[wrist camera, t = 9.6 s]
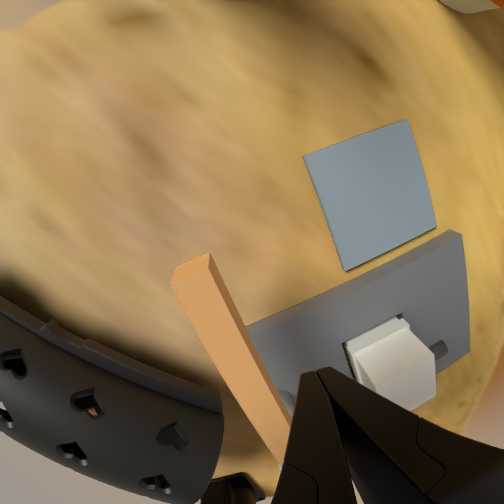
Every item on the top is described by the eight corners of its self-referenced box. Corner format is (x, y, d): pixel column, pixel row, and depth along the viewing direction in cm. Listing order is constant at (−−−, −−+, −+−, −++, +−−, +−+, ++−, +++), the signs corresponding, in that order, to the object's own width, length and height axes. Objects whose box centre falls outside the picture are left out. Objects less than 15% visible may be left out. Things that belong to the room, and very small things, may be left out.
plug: (416, 340, 24) (458, 383, 18) (351, 374, 24) (382, 428, 18) (409, 296, 23) (458, 336, 16) (337, 333, 23) (372, 386, 17)
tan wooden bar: (219, 247, 13) (219, 263, 11) (317, 451, 17) (325, 474, 15) (167, 270, 13) (159, 288, 11) (282, 464, 17) (288, 487, 15)
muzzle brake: (223, 363, 24) (176, 451, 24) (-57, 216, 18) (-71, 315, 18) (242, 441, 14) (179, 532, 15) (-129, 222, 8) (-129, 346, 9)
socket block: (460, 344, 25) (500, 380, 19) (290, 431, 25) (305, 487, 19) (449, 229, 21) (507, 253, 15) (233, 331, 22) (239, 392, 16)
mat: (433, 225, 21) (436, 226, 21) (342, 269, 21) (345, 271, 21) (404, 119, 19) (407, 119, 18) (302, 156, 19) (303, 156, 19)
